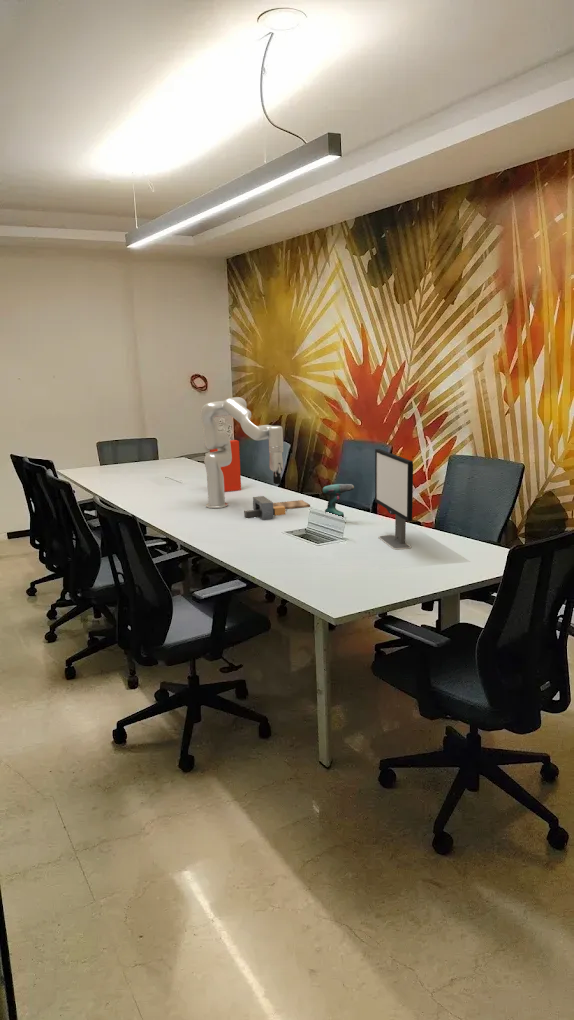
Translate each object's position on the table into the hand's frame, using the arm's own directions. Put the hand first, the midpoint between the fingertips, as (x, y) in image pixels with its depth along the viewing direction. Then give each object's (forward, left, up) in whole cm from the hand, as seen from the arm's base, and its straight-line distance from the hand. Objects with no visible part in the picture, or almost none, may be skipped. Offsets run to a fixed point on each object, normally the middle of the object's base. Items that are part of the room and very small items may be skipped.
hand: (277, 483), depth 350 cm
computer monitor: (+48, +65, -17) cm, 83 cm away
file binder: (-62, -48, -17) cm, 80 cm away
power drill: (+13, +35, -17) cm, 41 cm away
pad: (-19, -1, -17) cm, 26 cm away
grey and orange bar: (+3, -7, -17) cm, 19 cm away
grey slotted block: (+4, -7, -17) cm, 19 cm away
